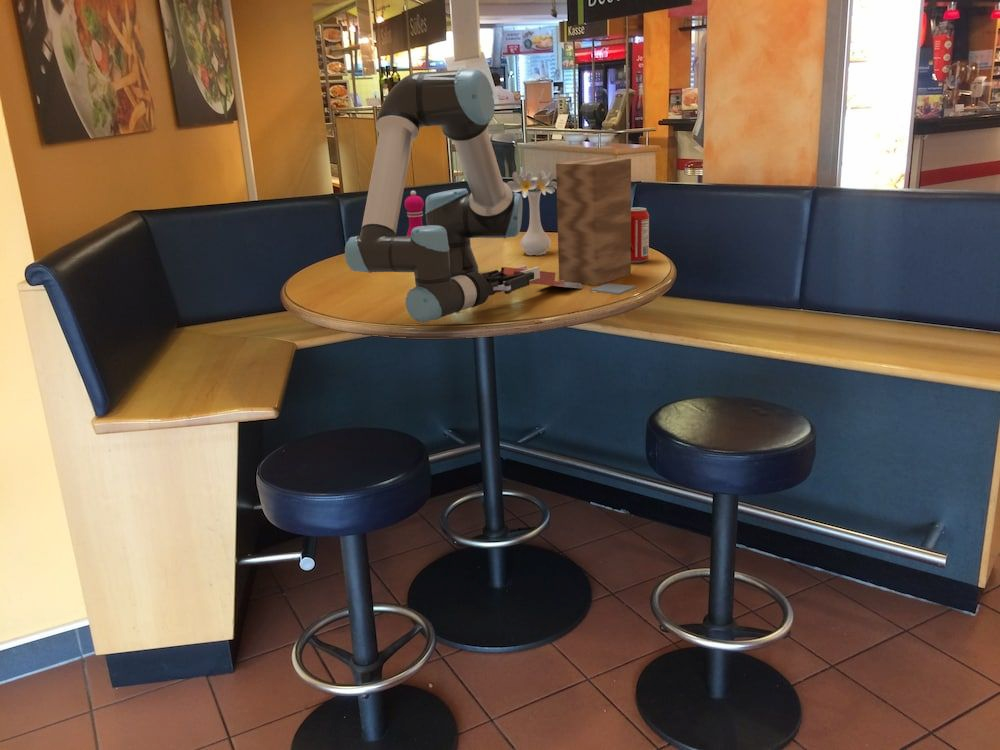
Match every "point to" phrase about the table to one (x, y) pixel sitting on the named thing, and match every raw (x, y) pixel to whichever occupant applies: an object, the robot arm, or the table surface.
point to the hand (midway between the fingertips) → (532, 271)
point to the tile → (613, 288)
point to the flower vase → (534, 208)
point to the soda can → (639, 235)
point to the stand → (594, 219)
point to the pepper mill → (414, 211)
